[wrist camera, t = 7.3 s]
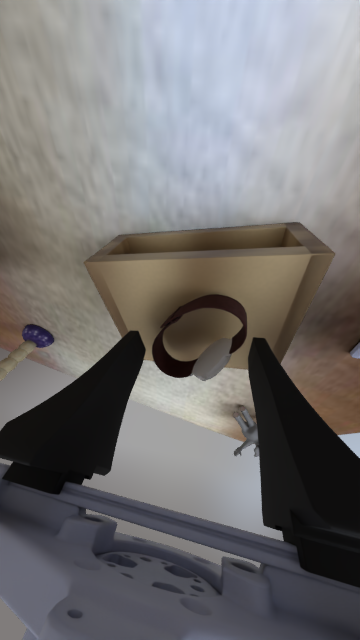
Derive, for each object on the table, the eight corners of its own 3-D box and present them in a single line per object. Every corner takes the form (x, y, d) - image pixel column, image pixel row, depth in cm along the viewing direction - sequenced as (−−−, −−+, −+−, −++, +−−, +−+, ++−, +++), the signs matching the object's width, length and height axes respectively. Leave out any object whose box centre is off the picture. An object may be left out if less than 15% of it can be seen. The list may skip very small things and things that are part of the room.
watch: (189, 360, 15) (183, 402, 13) (144, 335, 14) (126, 375, 11) (265, 314, 10) (278, 365, 8) (206, 267, 9) (199, 312, 7)
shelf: (300, 222, 11) (336, 253, 8) (265, 329, 18) (276, 372, 14) (118, 235, 14) (83, 262, 10) (148, 323, 21) (132, 359, 17)
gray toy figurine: (272, 401, 29) (293, 440, 30) (249, 386, 34) (268, 419, 36) (224, 441, 27) (250, 479, 29) (209, 417, 33) (231, 450, 34)
